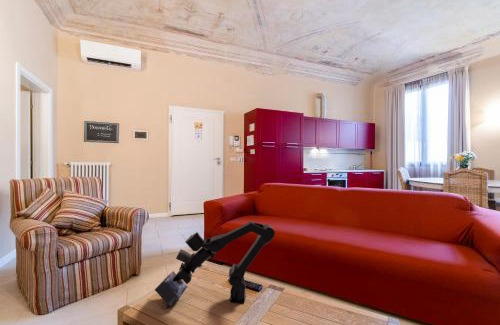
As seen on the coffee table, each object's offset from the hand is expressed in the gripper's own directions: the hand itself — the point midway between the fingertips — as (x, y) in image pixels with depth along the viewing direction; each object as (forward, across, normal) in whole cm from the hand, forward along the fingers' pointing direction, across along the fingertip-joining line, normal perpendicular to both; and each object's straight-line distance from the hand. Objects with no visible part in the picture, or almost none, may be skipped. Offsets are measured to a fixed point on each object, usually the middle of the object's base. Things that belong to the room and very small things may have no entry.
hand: (173, 280), depth 116 cm
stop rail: (+7, -1, +7) cm, 10 cm away
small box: (+3, 0, +8) cm, 8 cm away
